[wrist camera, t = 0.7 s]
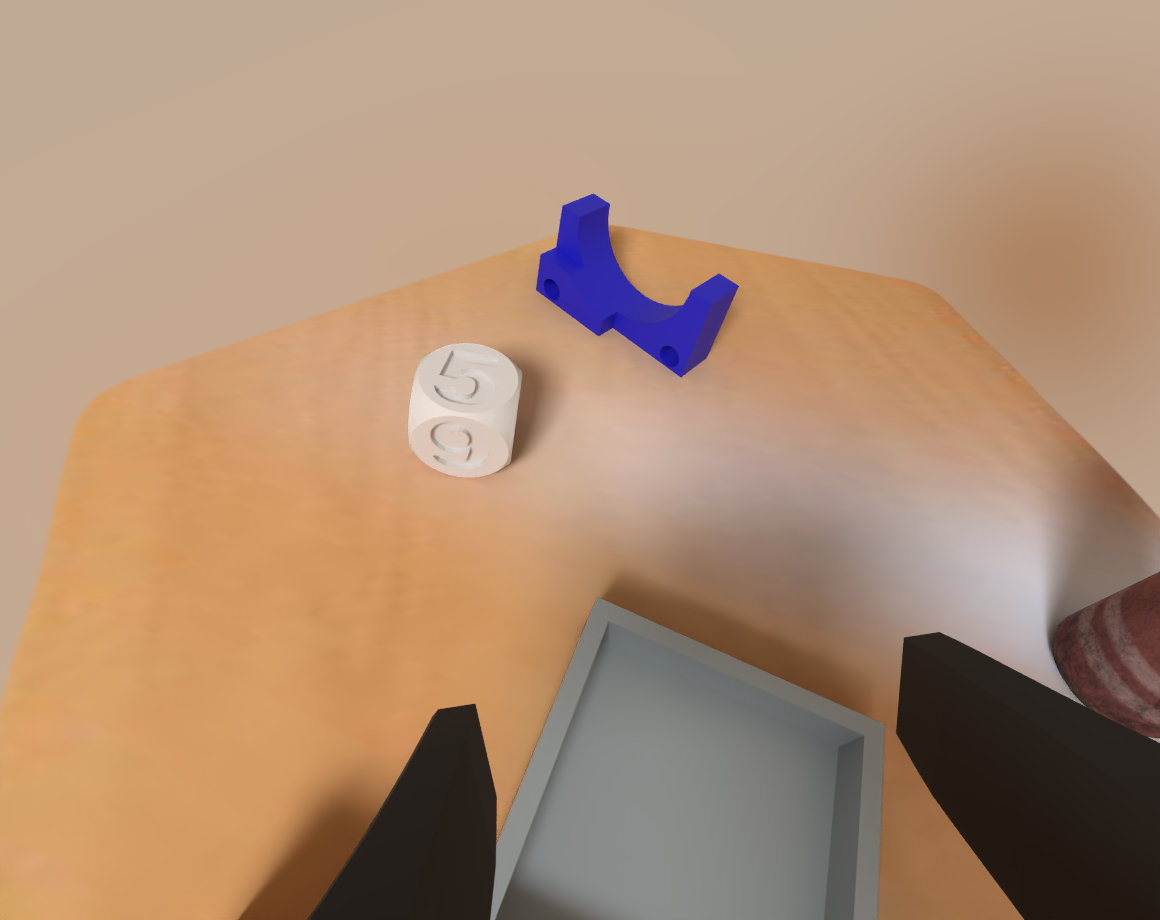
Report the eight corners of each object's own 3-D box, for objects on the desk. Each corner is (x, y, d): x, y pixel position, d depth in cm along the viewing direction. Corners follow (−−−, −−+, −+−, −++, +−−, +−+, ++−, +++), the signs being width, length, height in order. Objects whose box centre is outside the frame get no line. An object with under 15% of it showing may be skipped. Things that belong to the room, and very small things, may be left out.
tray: (822, 1151, 18) (867, 1181, 16) (450, 955, 19) (449, 960, 17) (852, 738, 26) (884, 724, 24) (586, 619, 27) (597, 597, 25)
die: (517, 414, 34) (525, 349, 30) (507, 484, 31) (515, 422, 27) (430, 402, 33) (426, 334, 29) (410, 472, 30) (404, 406, 26)
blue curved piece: (535, 291, 41) (546, 212, 37) (578, 270, 44) (593, 193, 39) (666, 388, 37) (697, 314, 33) (705, 359, 40) (738, 286, 35)
